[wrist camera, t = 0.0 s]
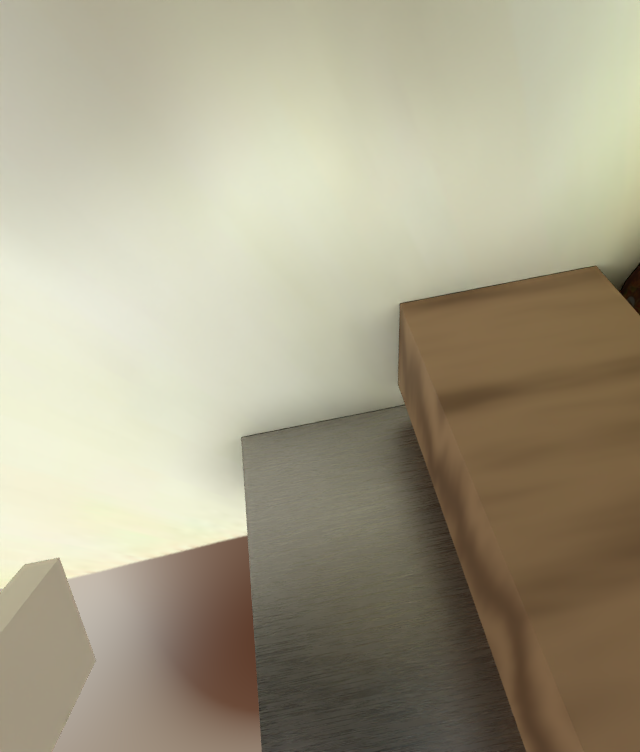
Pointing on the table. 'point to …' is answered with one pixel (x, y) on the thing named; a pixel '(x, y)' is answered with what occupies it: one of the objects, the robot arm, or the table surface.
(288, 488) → the block
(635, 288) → the food container
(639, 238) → the table surface
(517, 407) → the post
